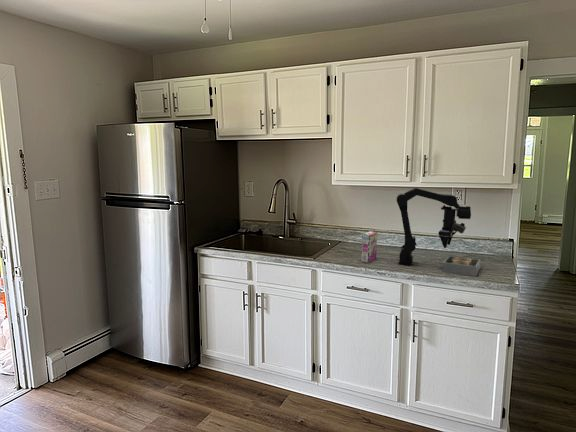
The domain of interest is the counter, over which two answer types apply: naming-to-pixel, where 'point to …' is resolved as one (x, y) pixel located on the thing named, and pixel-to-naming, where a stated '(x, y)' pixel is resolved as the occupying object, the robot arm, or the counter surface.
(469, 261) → the birch crate
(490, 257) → the counter surface
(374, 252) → the candy bar box
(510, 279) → the counter surface
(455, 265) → the charcoal crate
